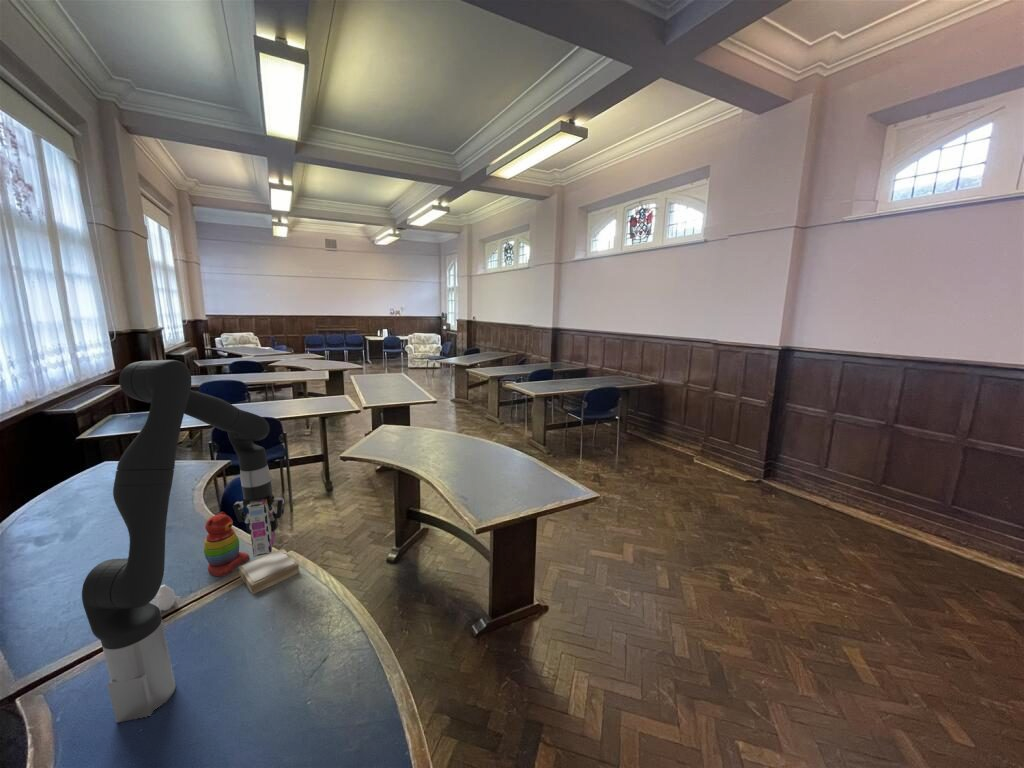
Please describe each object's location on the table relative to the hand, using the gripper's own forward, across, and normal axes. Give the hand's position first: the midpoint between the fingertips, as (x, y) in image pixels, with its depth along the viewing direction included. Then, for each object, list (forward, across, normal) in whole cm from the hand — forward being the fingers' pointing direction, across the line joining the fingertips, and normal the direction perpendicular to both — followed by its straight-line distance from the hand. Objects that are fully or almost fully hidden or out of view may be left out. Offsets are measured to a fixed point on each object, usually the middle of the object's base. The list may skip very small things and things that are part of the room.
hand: (263, 531), depth 124 cm
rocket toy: (+15, -23, -10) cm, 29 cm away
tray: (+15, 0, 0) cm, 15 cm away
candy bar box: (+5, 0, 0) cm, 5 cm away
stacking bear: (+15, -16, +8) cm, 24 cm away
